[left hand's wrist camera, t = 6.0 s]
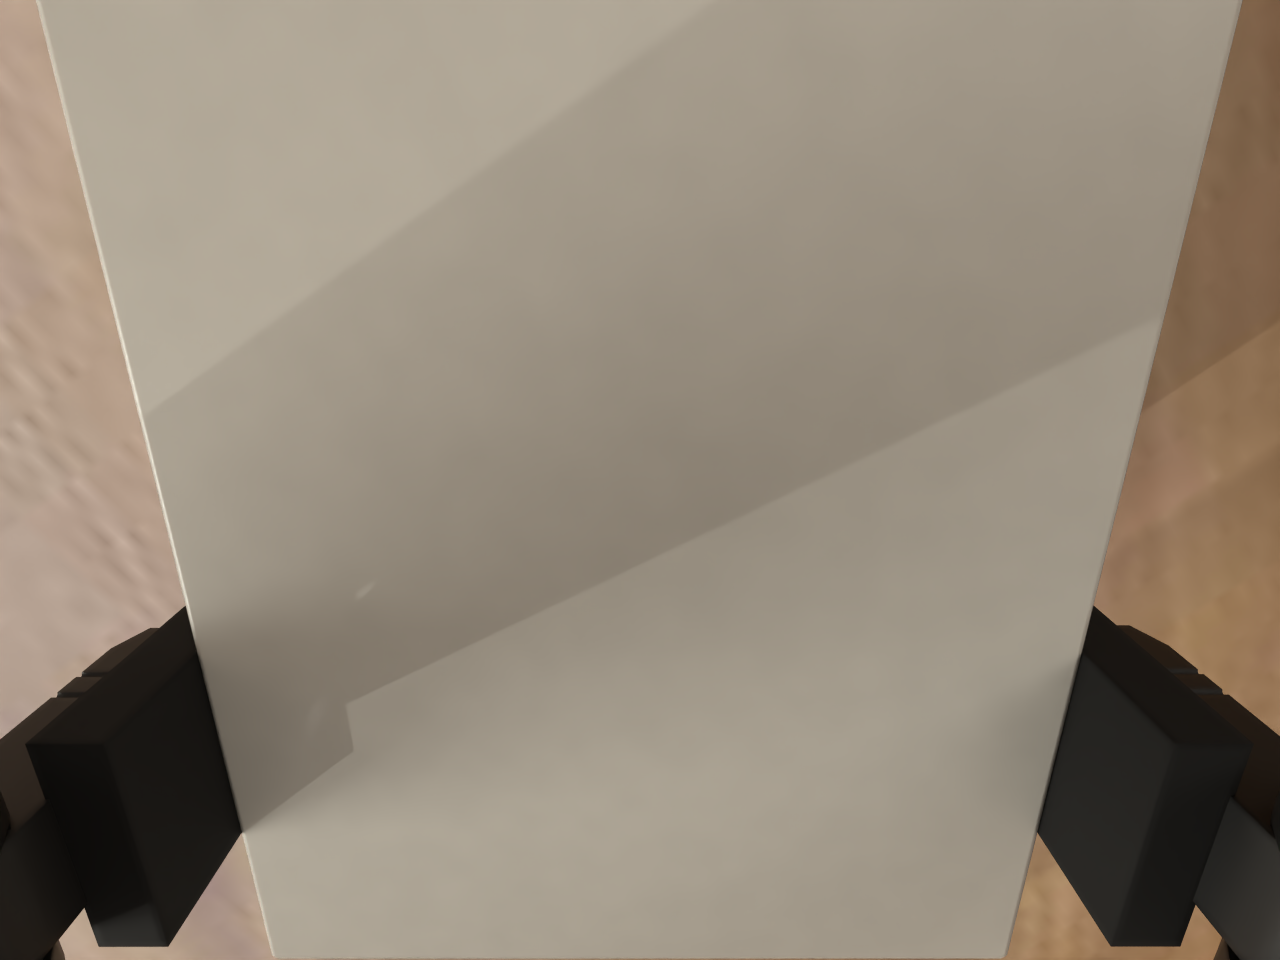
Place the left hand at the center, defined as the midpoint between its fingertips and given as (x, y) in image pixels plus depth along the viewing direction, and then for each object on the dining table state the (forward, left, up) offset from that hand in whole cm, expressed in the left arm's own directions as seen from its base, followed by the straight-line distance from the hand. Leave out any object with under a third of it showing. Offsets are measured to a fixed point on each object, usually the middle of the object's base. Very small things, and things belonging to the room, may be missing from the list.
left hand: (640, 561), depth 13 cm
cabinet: (+5, 0, -4) cm, 6 cm away
